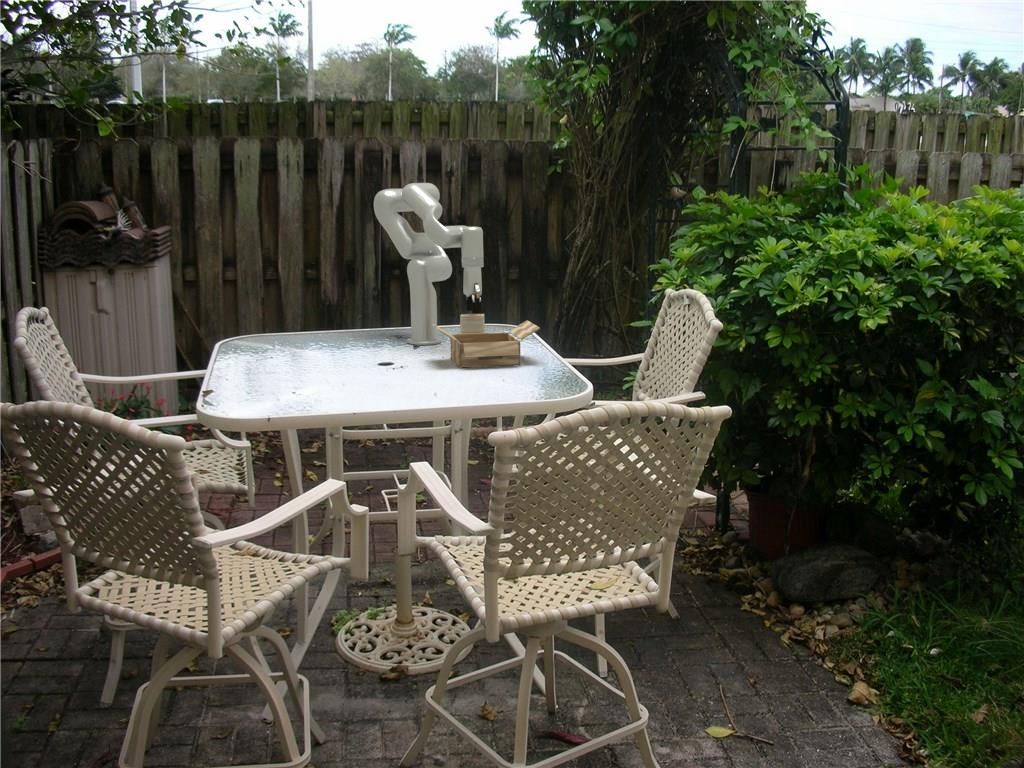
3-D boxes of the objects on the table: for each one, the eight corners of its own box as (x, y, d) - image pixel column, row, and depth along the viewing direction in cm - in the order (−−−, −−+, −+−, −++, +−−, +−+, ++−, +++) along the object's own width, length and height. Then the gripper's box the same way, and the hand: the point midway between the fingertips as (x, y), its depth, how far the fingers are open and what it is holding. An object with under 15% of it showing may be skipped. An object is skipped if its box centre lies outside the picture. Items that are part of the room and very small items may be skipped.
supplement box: (485, 350, 343) (485, 313, 340) (483, 352, 338) (483, 315, 335) (462, 349, 344) (461, 313, 341) (460, 352, 339) (459, 315, 336)
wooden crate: (450, 358, 328) (450, 335, 326) (507, 355, 332) (508, 333, 331) (460, 368, 311) (459, 343, 310) (520, 365, 316) (520, 341, 314)
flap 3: (463, 343, 309) (464, 357, 308) (517, 340, 314) (519, 354, 312) (463, 343, 310) (464, 357, 308) (517, 341, 314) (519, 355, 313)
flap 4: (509, 331, 330) (527, 320, 331) (510, 332, 330) (527, 321, 331) (521, 339, 315) (539, 327, 316) (521, 340, 315) (540, 328, 316)
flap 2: (453, 334, 326) (452, 345, 330) (505, 332, 331) (503, 343, 334) (453, 333, 327) (451, 344, 330) (504, 331, 331) (503, 342, 334)
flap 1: (449, 334, 325) (431, 323, 323) (449, 333, 325) (431, 322, 323) (457, 342, 310) (439, 331, 308) (458, 341, 310) (439, 330, 308)
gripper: (457, 261, 341) (458, 309, 345) (466, 265, 325) (468, 315, 328) (478, 260, 343) (479, 308, 347) (488, 264, 327) (489, 314, 330)
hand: (473, 311), depth 337 cm, fingers open, 9 cm apart
